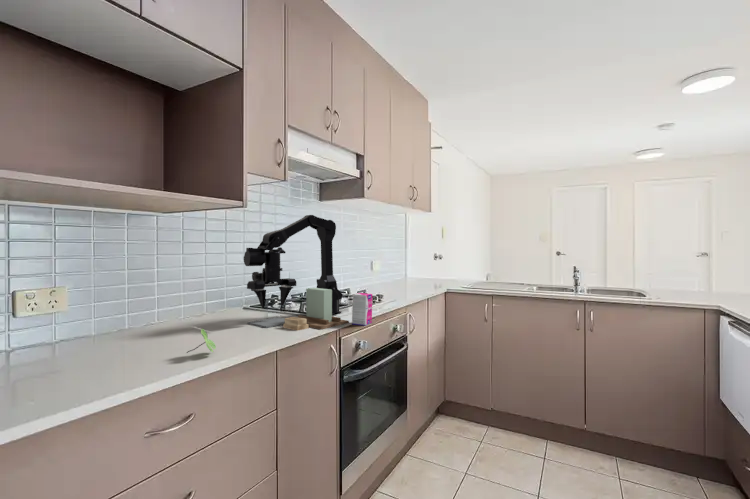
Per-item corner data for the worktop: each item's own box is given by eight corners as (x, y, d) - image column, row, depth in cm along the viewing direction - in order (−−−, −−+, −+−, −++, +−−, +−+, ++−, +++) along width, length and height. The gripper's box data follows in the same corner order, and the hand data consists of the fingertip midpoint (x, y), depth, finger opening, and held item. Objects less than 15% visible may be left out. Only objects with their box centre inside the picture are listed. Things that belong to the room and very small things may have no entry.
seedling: (199, 368, 106) (220, 354, 107) (184, 360, 99) (207, 345, 101) (190, 347, 109) (211, 334, 111) (175, 338, 103) (198, 324, 104)
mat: (278, 318, 155) (278, 317, 155) (297, 322, 148) (297, 320, 148) (247, 323, 145) (247, 322, 145) (265, 328, 137) (265, 326, 137)
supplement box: (365, 326, 140) (365, 295, 140) (351, 325, 142) (351, 294, 142) (372, 323, 145) (372, 293, 145) (358, 322, 147) (358, 292, 147)
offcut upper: (293, 322, 141) (293, 316, 141) (306, 324, 137) (306, 318, 136) (284, 324, 137) (284, 318, 137) (298, 326, 133) (298, 320, 133)
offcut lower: (294, 327, 142) (294, 321, 142) (308, 329, 137) (308, 324, 137) (283, 329, 138) (283, 323, 138) (297, 332, 133) (297, 326, 133)
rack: (317, 317, 157) (317, 311, 157) (348, 323, 145) (348, 316, 145) (289, 323, 146) (289, 316, 146) (321, 329, 134) (321, 322, 134)
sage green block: (314, 318, 150) (314, 287, 150) (331, 321, 144) (331, 289, 144) (306, 319, 147) (306, 288, 147) (324, 323, 141) (323, 290, 141)
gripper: (280, 264, 158) (280, 301, 159) (238, 265, 144) (239, 307, 144) (297, 264, 151) (297, 304, 151) (255, 266, 137) (255, 310, 137)
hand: (272, 306), depth 146 cm, fingers open, 8 cm apart
